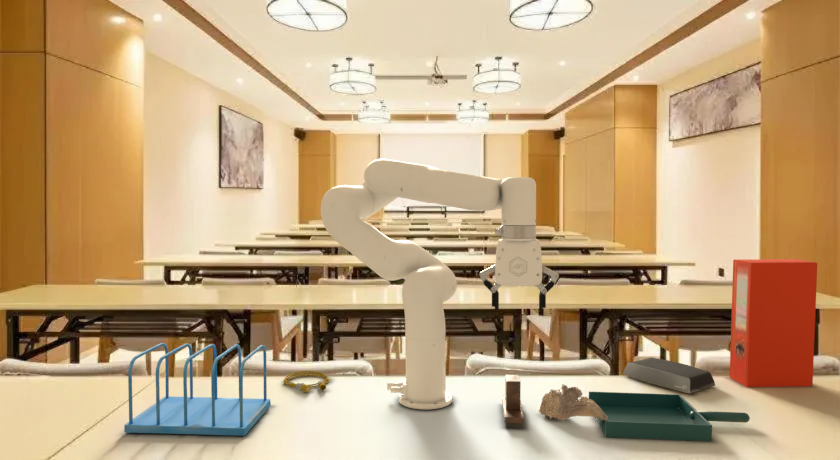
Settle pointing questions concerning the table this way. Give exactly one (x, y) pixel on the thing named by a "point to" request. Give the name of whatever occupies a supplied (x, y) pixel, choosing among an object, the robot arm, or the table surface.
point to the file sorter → (198, 403)
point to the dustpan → (657, 416)
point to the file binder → (773, 322)
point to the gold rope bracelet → (303, 386)
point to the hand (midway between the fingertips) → (518, 310)
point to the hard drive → (670, 374)
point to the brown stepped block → (512, 403)
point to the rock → (569, 404)
